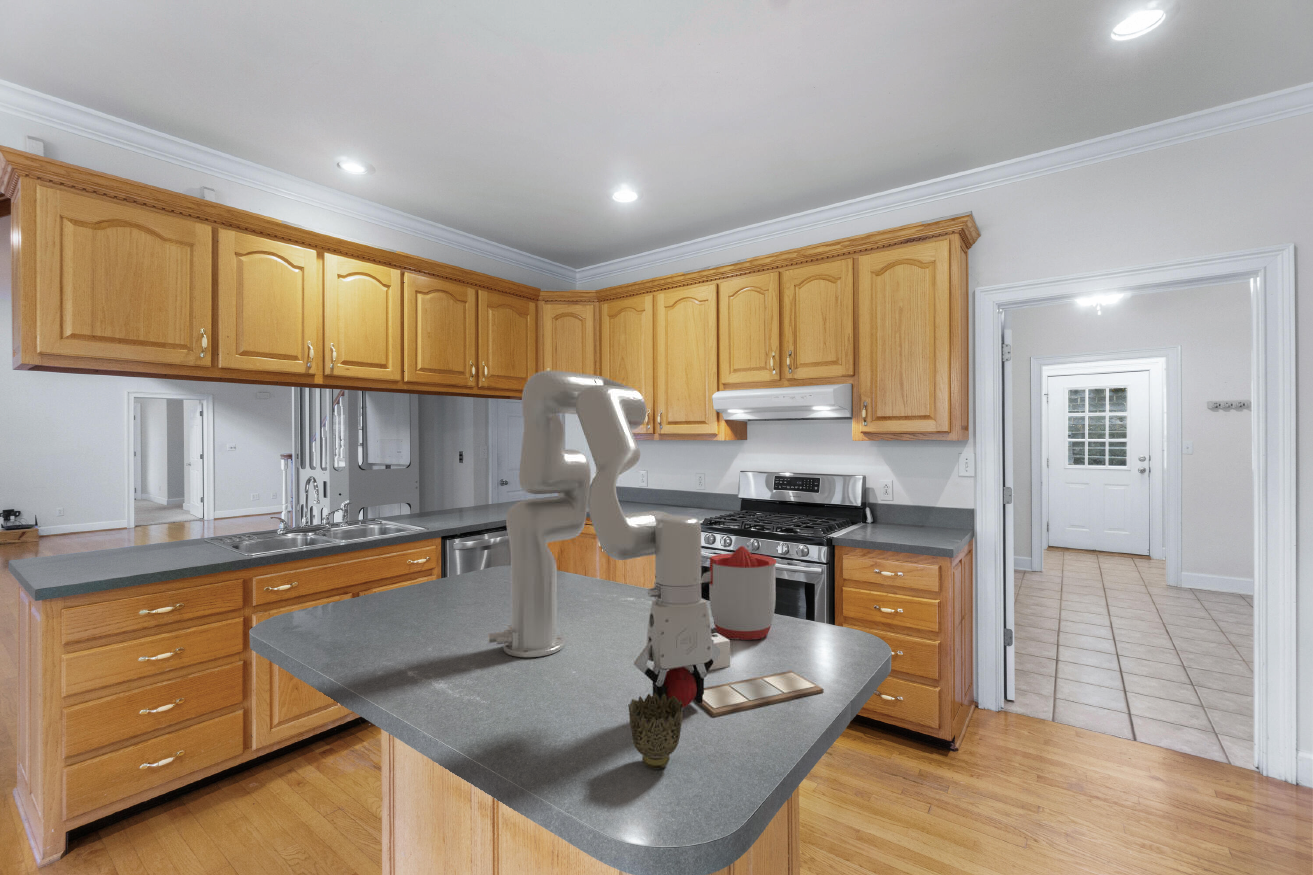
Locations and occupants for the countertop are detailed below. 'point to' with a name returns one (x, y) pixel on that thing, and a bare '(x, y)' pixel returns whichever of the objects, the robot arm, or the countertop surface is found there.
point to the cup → (655, 728)
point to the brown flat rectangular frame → (756, 692)
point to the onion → (680, 685)
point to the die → (724, 646)
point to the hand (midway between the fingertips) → (678, 702)
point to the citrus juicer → (742, 594)
